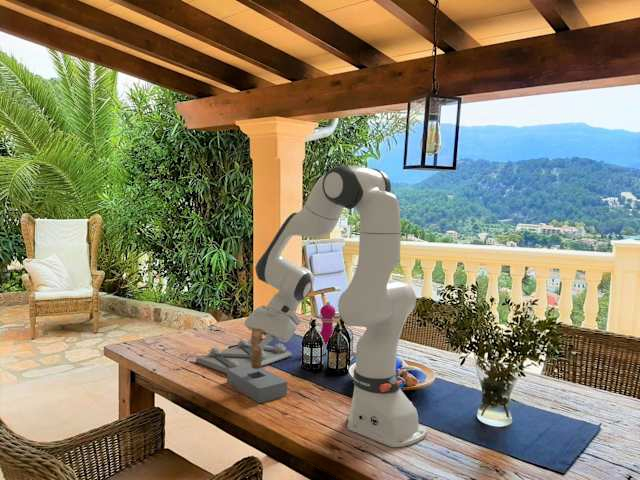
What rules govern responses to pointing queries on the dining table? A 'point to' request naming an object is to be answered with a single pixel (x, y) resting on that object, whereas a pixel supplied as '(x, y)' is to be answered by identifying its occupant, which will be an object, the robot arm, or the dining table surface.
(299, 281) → the robot arm
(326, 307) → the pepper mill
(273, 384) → the socket block
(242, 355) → the grey crossed stick tray
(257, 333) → the peg
